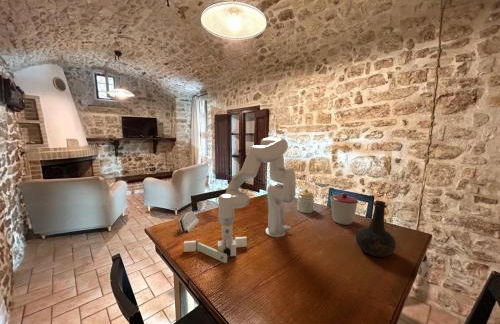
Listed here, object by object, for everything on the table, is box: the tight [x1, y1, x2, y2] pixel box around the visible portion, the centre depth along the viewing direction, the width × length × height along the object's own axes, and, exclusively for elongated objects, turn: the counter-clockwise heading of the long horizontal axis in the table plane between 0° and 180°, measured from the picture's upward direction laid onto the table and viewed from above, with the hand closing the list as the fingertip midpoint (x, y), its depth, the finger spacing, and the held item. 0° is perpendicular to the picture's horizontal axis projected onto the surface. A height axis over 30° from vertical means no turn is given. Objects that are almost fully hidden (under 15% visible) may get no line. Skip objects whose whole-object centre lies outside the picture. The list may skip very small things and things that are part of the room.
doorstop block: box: [217, 239, 237, 258], centre depth 103 cm, size 9×5×6 cm, turn 100°
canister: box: [330, 192, 360, 226], centre depth 142 cm, size 18×18×21 cm
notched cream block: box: [183, 236, 248, 253], centre depth 109 cm, size 33×2×5 cm, turn 100°
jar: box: [296, 188, 315, 214], centre depth 163 cm, size 13×13×18 cm
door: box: [196, 240, 228, 264], centre depth 101 cm, size 20×2×5 cm, turn 57°
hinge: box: [178, 211, 200, 233], centre depth 134 cm, size 17×5×10 cm, turn 171°
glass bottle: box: [355, 200, 397, 258], centre depth 106 cm, size 18×18×28 cm
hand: (226, 252), depth 103 cm, fingers closed on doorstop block, 5 cm apart
